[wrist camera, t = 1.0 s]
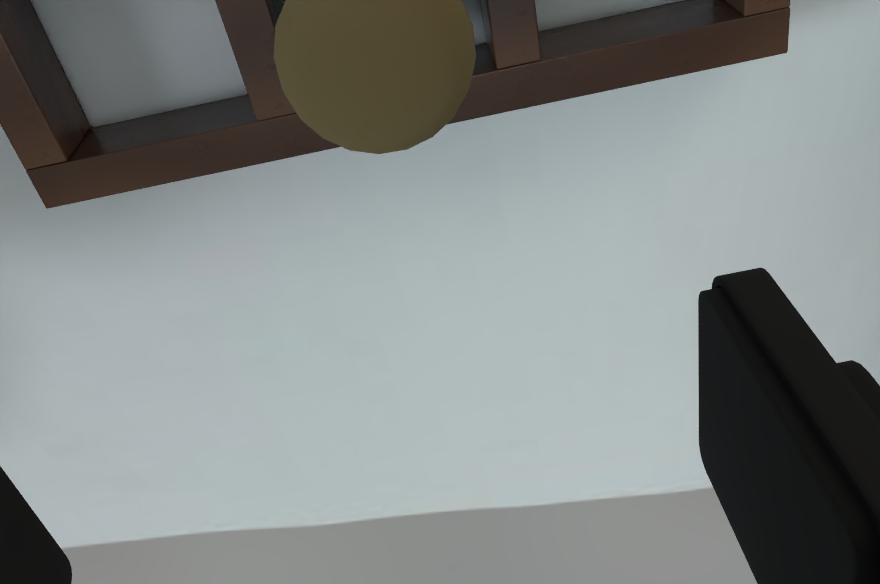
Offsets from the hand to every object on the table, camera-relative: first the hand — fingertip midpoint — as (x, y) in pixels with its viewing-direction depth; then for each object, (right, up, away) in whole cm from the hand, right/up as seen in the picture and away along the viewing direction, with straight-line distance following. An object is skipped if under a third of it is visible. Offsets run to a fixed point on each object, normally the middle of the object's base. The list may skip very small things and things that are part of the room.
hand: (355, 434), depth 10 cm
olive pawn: (-1, +13, +18) cm, 23 cm away
